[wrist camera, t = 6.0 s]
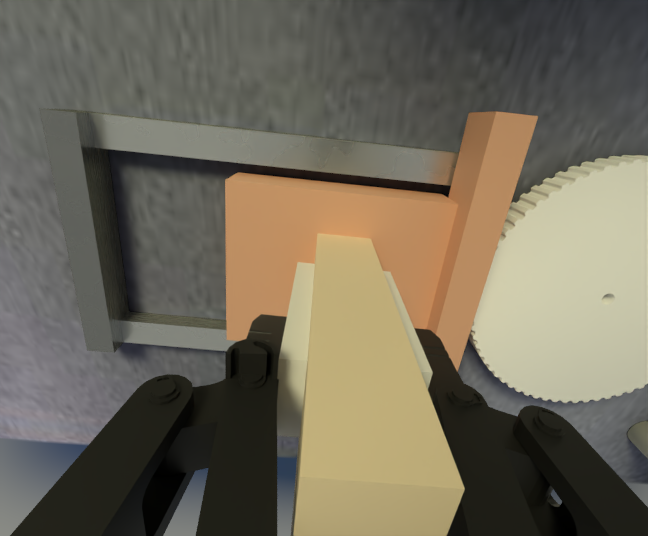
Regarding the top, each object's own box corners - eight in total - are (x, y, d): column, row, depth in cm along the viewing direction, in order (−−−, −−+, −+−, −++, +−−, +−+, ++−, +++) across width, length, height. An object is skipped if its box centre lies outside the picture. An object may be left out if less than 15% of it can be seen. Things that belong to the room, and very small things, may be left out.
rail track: (107, 330, 22) (87, 350, 20) (70, 109, 17) (39, 108, 15) (418, 358, 22) (426, 379, 20) (470, 153, 17) (487, 157, 16)
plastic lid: (754, 153, 18) (819, 159, 15) (651, 375, 23) (687, 403, 21) (477, 152, 18) (500, 157, 15) (439, 373, 23) (452, 402, 21)
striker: (236, 367, 22) (106, 733, 9) (238, 87, 16) (-181, -64, 3) (422, 383, 23) (557, 755, 9) (494, 116, 16) (1192, 108, 3)
